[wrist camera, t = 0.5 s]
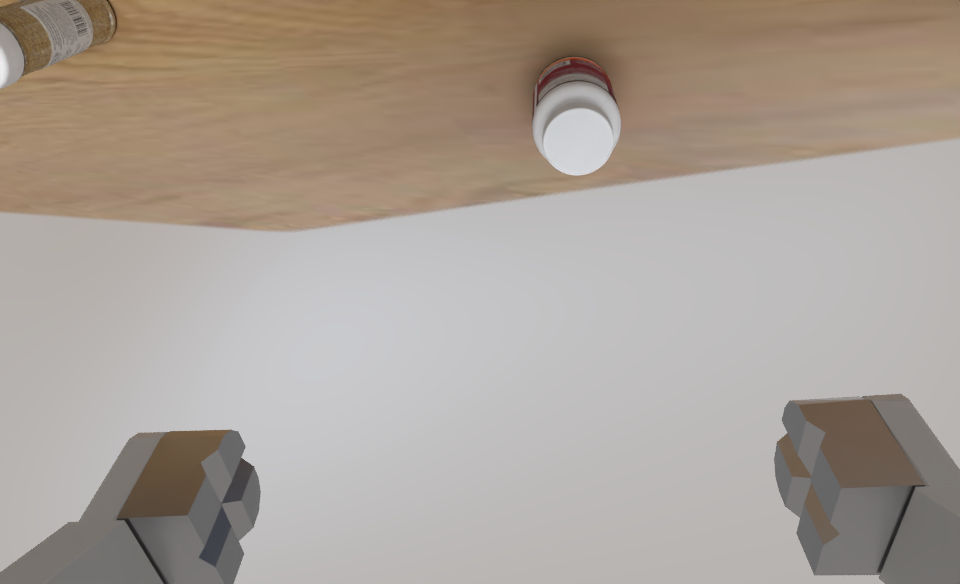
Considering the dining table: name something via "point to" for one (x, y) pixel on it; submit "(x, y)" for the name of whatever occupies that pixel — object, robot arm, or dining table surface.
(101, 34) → the sprinkles bottle
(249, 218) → the dining table surface
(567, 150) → the pill bottle
